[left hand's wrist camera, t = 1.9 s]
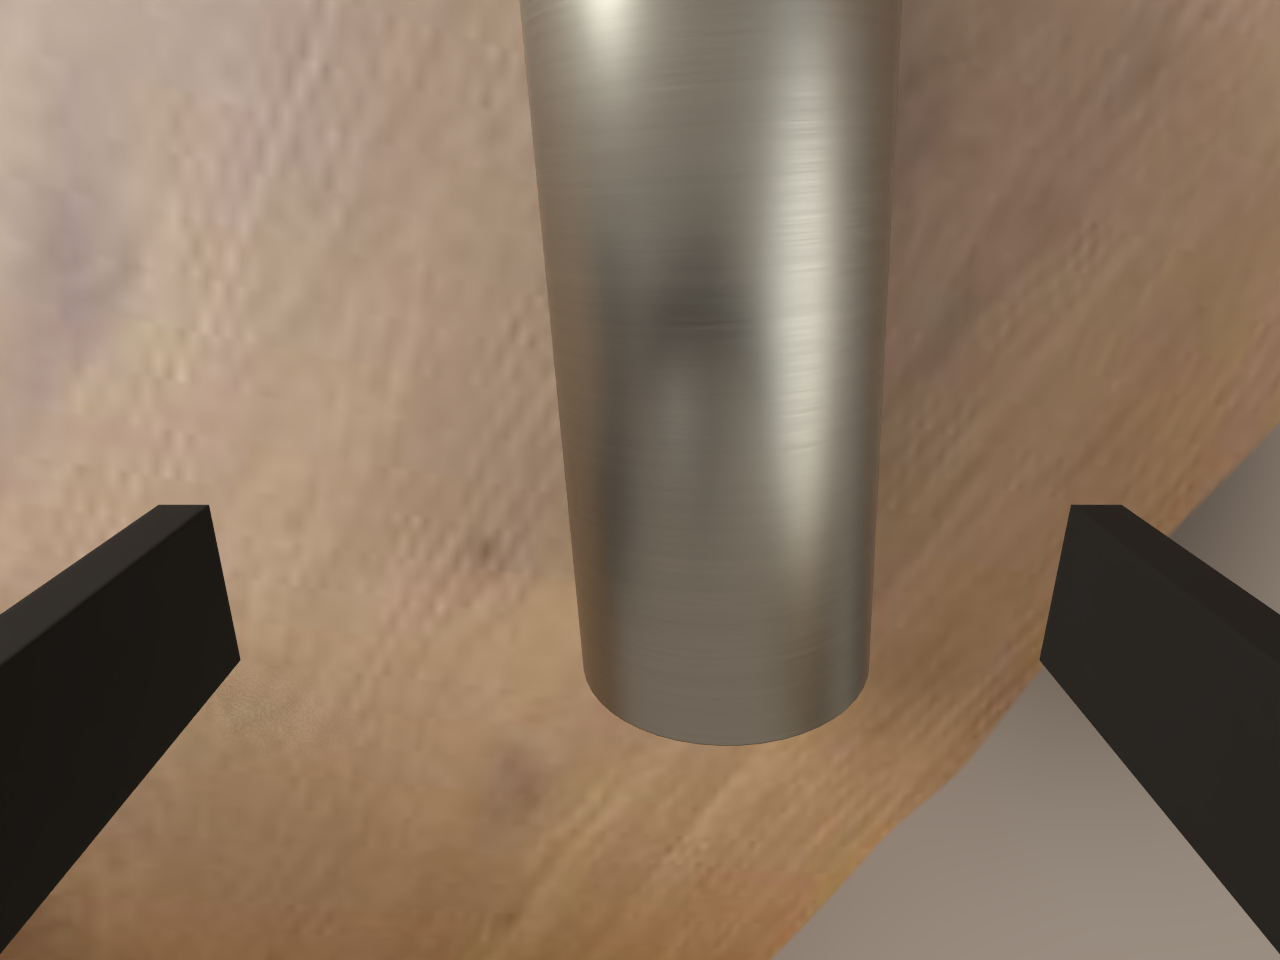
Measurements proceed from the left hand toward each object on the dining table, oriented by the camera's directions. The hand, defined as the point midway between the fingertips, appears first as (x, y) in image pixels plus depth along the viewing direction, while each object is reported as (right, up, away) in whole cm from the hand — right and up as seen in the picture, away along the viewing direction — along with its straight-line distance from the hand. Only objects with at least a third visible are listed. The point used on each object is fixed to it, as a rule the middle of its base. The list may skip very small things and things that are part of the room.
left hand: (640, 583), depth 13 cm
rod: (+2, +9, +13) cm, 16 cm away
